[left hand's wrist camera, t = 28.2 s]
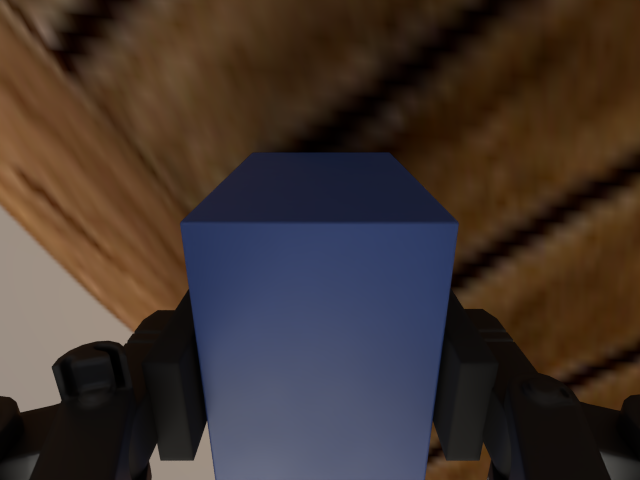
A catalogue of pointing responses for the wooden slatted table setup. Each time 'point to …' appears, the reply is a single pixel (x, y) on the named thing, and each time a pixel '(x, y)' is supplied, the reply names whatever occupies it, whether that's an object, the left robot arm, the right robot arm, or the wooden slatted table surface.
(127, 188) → the wooden slatted table surface
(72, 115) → the wooden slatted table surface
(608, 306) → the wooden slatted table surface
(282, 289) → the block
